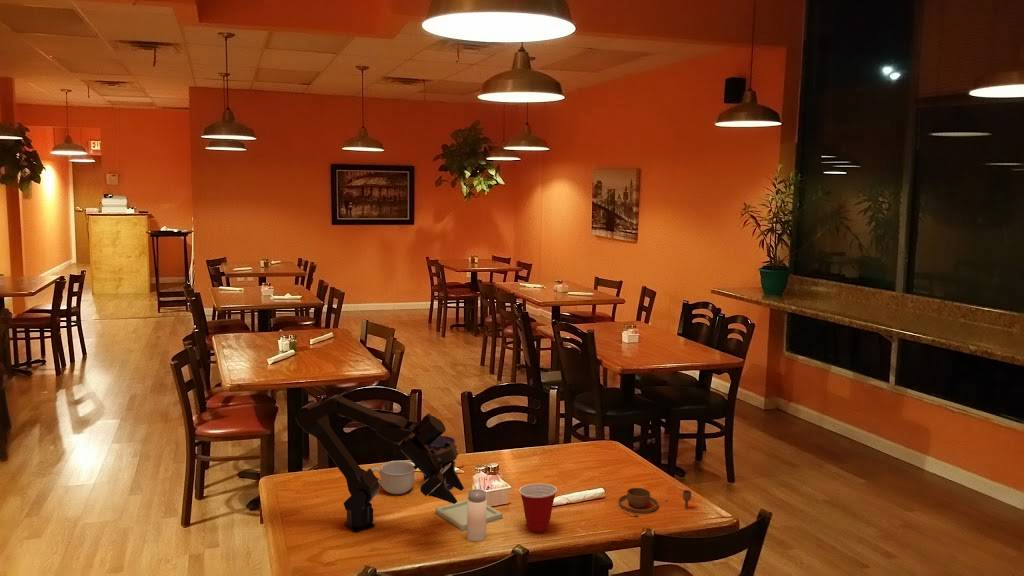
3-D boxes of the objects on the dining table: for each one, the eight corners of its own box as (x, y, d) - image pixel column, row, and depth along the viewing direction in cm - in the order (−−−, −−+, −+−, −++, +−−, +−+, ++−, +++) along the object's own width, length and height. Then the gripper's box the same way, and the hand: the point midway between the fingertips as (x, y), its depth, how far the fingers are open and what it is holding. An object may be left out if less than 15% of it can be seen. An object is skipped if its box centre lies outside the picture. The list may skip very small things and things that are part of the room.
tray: (462, 530, 217) (462, 525, 217) (435, 513, 228) (435, 508, 228) (502, 518, 225) (502, 513, 225) (474, 502, 236) (474, 497, 236)
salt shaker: (474, 543, 209) (474, 498, 208) (463, 536, 214) (463, 491, 212) (489, 538, 213) (490, 493, 211) (478, 531, 217) (479, 487, 215)
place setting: (633, 493, 247) (634, 475, 247) (693, 509, 236) (694, 490, 235) (607, 511, 233) (608, 492, 232) (669, 529, 222) (670, 510, 221)
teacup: (418, 485, 248) (418, 461, 247) (410, 498, 238) (410, 473, 237) (375, 482, 250) (375, 458, 249) (366, 496, 239) (366, 471, 238)
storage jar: (460, 484, 250) (461, 439, 248) (442, 494, 242) (443, 448, 240) (435, 477, 255) (436, 433, 253) (417, 487, 247) (417, 442, 245)
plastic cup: (533, 517, 227) (534, 477, 225) (563, 528, 220) (565, 487, 218) (509, 529, 218) (510, 488, 217) (540, 541, 212) (541, 499, 210)
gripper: (432, 447, 201) (474, 490, 201) (447, 425, 220) (485, 465, 220) (403, 474, 203) (444, 517, 204) (420, 450, 222) (458, 489, 222)
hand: (459, 495), depth 212 cm, fingers open, 9 cm apart
